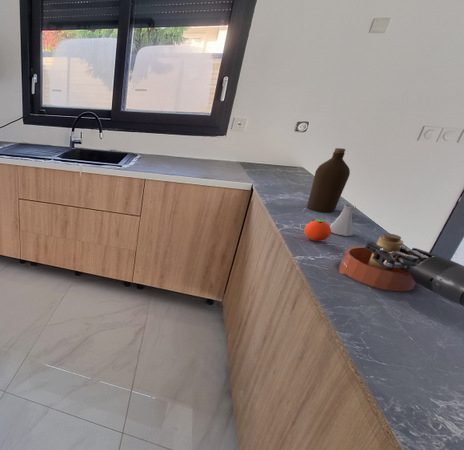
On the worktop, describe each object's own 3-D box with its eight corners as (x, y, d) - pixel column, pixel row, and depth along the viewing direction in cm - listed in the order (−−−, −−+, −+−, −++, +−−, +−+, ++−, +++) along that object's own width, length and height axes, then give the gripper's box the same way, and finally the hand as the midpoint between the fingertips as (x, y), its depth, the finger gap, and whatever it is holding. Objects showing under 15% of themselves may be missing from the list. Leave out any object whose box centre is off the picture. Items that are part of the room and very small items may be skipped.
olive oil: (325, 214, 125) (346, 152, 115) (298, 206, 134) (316, 147, 124) (342, 211, 128) (365, 149, 118) (315, 203, 137) (334, 145, 127)
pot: (390, 268, 88) (399, 250, 86) (427, 299, 75) (438, 278, 73) (329, 261, 92) (335, 243, 90) (354, 289, 79) (362, 269, 77)
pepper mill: (383, 266, 84) (398, 233, 80) (393, 275, 80) (409, 240, 76) (363, 264, 85) (377, 231, 81) (372, 272, 81) (387, 238, 77)
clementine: (296, 233, 110) (301, 215, 107) (317, 234, 108) (324, 216, 106) (308, 244, 102) (315, 224, 99) (332, 245, 101) (339, 225, 98)
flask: (357, 233, 109) (367, 206, 105) (347, 238, 106) (358, 211, 102) (332, 226, 115) (341, 200, 111) (323, 230, 111) (332, 204, 107)
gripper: (493, 264, 66) (407, 231, 81) (428, 267, 65) (355, 233, 81) (475, 293, 69) (396, 255, 84) (412, 296, 68) (345, 258, 84)
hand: (376, 245), depth 83 cm, fingers closed on pepper mill, 4 cm apart
